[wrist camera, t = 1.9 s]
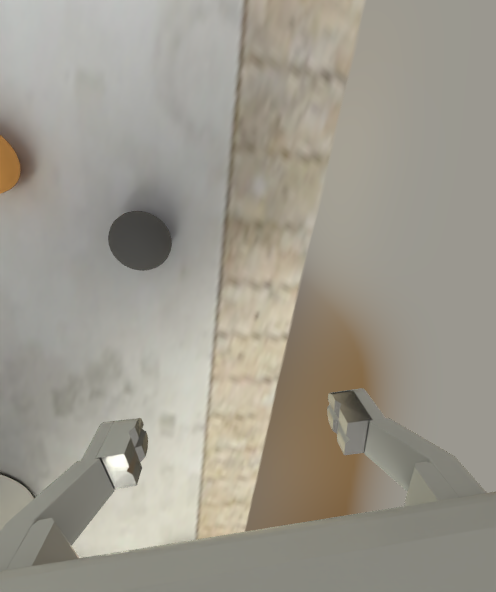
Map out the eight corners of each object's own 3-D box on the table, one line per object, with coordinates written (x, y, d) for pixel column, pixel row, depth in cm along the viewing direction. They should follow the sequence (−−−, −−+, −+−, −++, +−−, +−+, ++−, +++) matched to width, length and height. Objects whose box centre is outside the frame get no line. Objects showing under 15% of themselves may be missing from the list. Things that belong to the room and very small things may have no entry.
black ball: (163, 270, 28) (150, 287, 23) (113, 247, 27) (88, 259, 21) (184, 226, 27) (175, 234, 21) (132, 198, 25) (110, 199, 20)
